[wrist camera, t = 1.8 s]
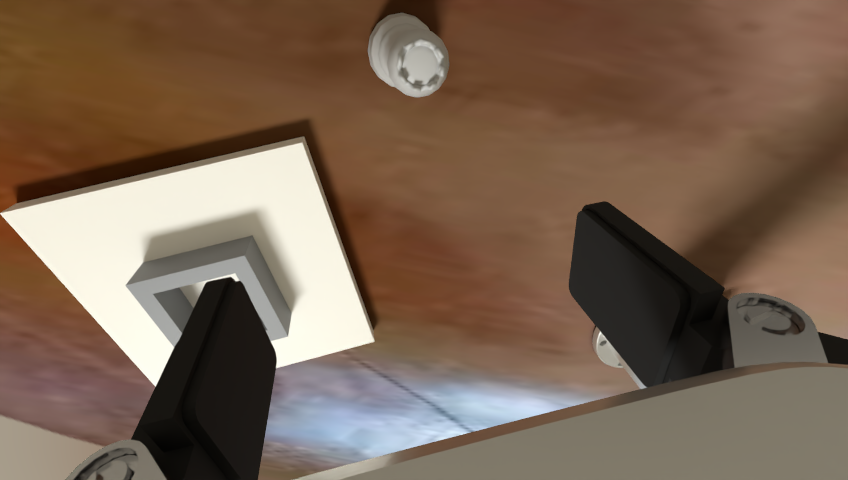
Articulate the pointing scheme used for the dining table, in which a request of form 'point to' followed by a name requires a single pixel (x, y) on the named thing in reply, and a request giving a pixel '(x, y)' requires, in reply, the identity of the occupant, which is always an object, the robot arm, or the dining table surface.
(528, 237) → the dining table surface
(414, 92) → the rook chess piece
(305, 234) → the socket board
